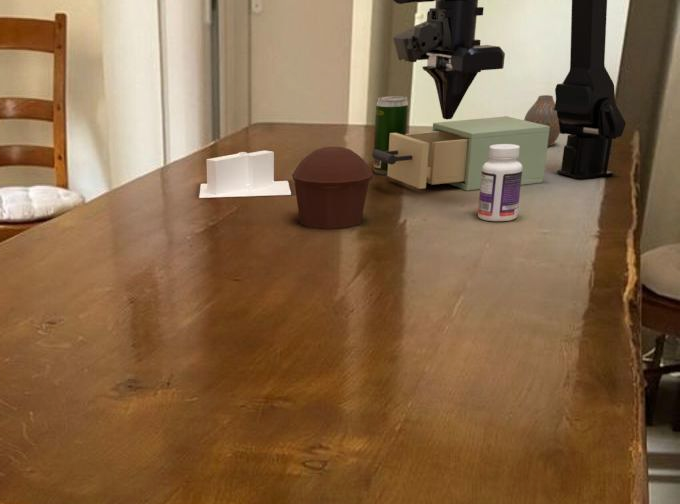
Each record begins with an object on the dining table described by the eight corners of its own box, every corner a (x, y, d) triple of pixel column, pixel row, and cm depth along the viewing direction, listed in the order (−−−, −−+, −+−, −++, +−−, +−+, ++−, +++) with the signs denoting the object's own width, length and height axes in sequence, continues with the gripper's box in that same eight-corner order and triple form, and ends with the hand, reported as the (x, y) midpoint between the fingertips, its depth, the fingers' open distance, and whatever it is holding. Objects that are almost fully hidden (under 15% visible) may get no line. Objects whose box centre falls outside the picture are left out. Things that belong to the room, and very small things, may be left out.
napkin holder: (199, 198, 163) (197, 161, 160) (200, 183, 173) (198, 149, 170) (292, 194, 162) (292, 157, 159) (287, 180, 172) (288, 145, 169)
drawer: (394, 191, 157) (397, 145, 153) (363, 178, 166) (365, 135, 163) (490, 181, 160) (495, 136, 157) (455, 169, 170) (458, 126, 167)
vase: (527, 141, 195) (533, 93, 191) (563, 143, 192) (570, 94, 187) (515, 147, 190) (520, 97, 186) (552, 149, 187) (558, 99, 183)
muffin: (378, 228, 140) (382, 154, 135) (299, 233, 140) (300, 158, 135) (359, 210, 151) (362, 140, 146) (286, 214, 150) (286, 144, 145)
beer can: (388, 176, 171) (392, 101, 166) (366, 172, 175) (369, 98, 170) (410, 171, 174) (415, 97, 168) (389, 167, 178) (393, 95, 172)
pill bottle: (518, 213, 144) (526, 143, 140) (516, 222, 140) (524, 149, 135) (478, 212, 146) (485, 142, 141) (475, 221, 142) (482, 149, 137)
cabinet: (466, 190, 159) (472, 133, 155) (428, 176, 170) (432, 122, 166) (543, 182, 162) (550, 126, 158) (501, 169, 173) (506, 116, 169)
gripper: (375, 1, 146) (369, 115, 153) (434, 5, 130) (425, 132, 137) (445, -4, 148) (437, 109, 155) (512, 0, 132) (499, 126, 139)
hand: (447, 118), depth 147 cm, fingers closed
